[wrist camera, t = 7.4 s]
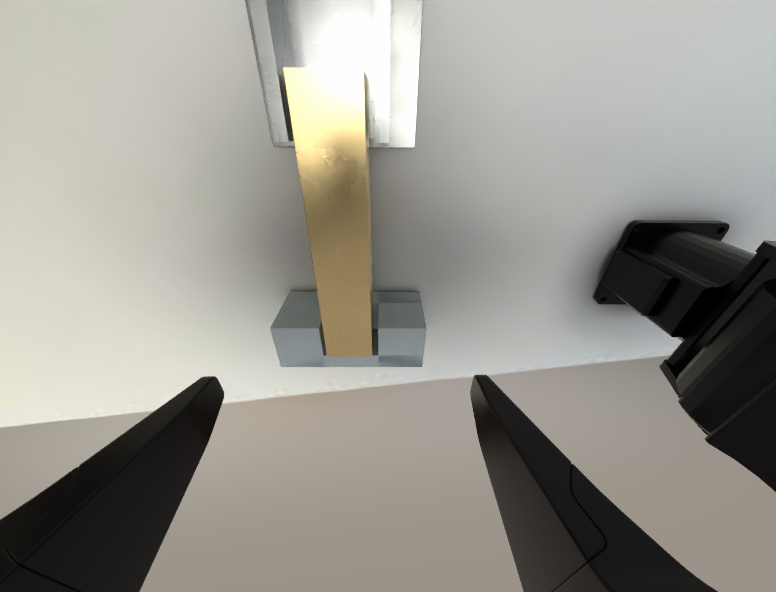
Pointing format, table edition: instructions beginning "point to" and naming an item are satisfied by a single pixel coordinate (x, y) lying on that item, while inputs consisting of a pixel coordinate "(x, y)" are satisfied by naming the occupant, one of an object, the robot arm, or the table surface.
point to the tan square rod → (336, 198)
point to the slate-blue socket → (390, 338)
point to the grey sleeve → (342, 57)
